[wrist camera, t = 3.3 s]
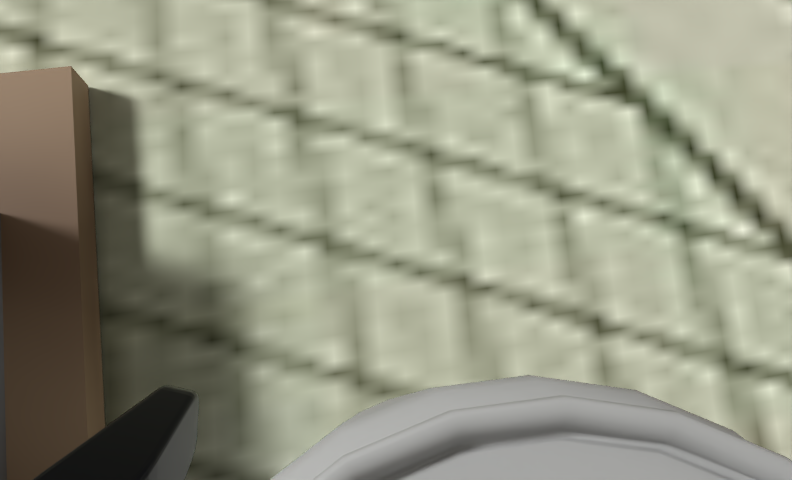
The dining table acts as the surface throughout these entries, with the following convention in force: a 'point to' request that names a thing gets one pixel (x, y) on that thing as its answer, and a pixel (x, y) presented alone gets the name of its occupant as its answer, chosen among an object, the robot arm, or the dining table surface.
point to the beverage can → (533, 438)
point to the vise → (47, 273)
